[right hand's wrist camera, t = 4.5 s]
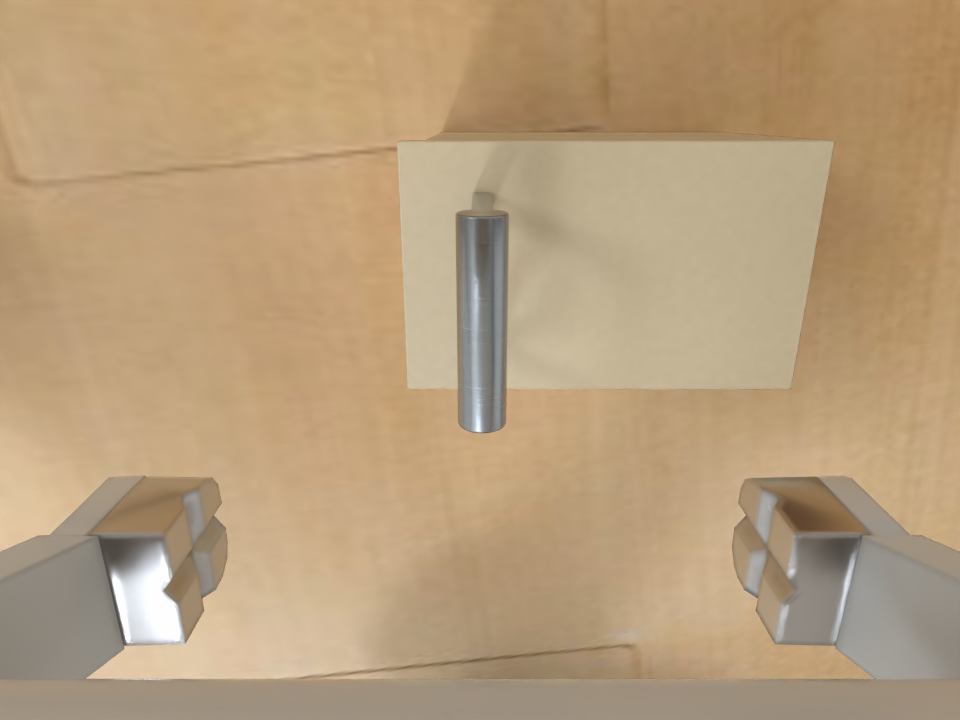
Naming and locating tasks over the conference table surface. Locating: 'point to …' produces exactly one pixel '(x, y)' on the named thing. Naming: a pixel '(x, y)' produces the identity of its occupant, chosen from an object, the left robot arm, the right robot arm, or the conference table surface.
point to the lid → (605, 264)
